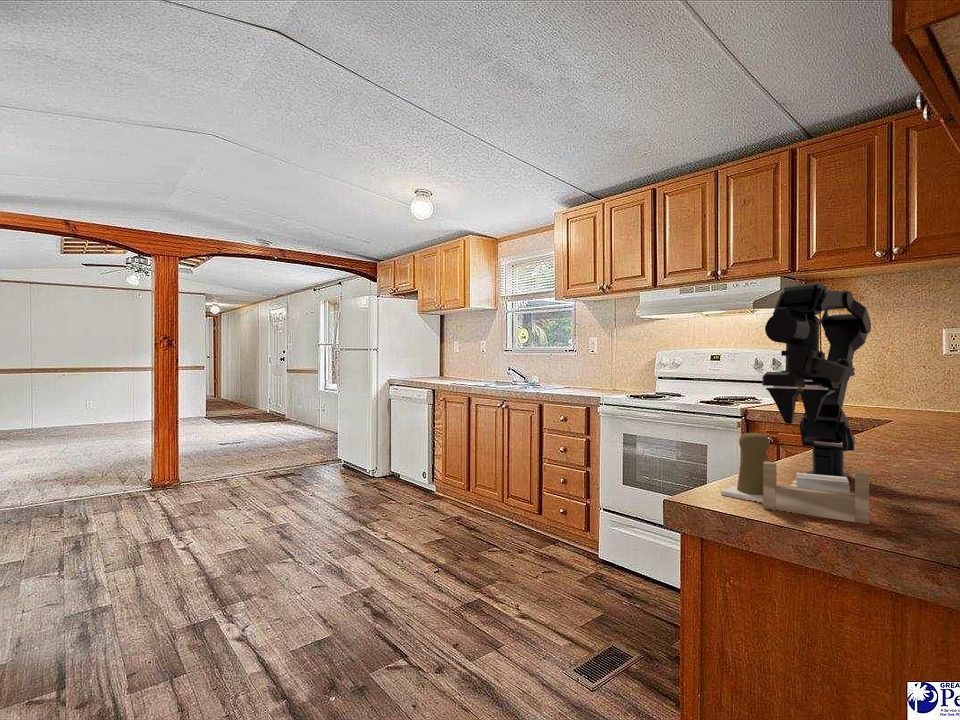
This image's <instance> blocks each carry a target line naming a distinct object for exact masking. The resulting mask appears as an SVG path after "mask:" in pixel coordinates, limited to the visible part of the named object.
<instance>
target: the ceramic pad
mask: <svg viewBox="0 0 960 720" xmlns="http://www.w3.org/2000/svg"><path fill="white" fill-rule="evenodd" d="M737 486H738V484H735V485H732V486H730V487H727V488H723V489H722V490H720V495H721V496H725V497H731V498H736V499H739V498H740V500H744V499H745V501H749V500H751V501H750V502H754V501H757V502H756V503H759V502H762V503H761V504H763V495H753V494H747V493H743V492H740V491H738V490H737Z"/></svg>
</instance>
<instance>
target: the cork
mask: <svg viewBox="0 0 960 720" xmlns="http://www.w3.org/2000/svg"><path fill="white" fill-rule="evenodd" d="M738 444H739V447H740V448H741V450H742V452H741V458H740V463H739V464H740V465H739V473H738V481H737V485H738V486H737V490H738V491H740V492H743V493H747V494H753V495H763V463H764V462H765V461H767V462H769V459H768V454H767V453H768V452H767V451H768V450H770V449H769V448H770V446H771V442H770V439H769V437H768V436H767V435H766V434H763V433H758V432H747V433H745V432H744V433H742V434H741V435H740V437H739V440H738Z"/></svg>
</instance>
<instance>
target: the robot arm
mask: <svg viewBox="0 0 960 720" xmlns="http://www.w3.org/2000/svg"><path fill="white" fill-rule="evenodd" d="M840 309H842V310H843V309H846V311H848V313H844V314H843V313H842V314H832V315H829V313H828V312H829V310H840ZM821 312H823V313H822V316H821V318H818V317H817V315H820V314H821ZM820 326H822V329H823V332H824V336H825V338H826V339H827V341H828V343H829V349H828V353H827V358H826V353H825V352H824V351H821V350H820ZM764 330H765V331H764V332H765V334H766V336H767V338H768V339H770V340H771V341H772V342H774V343H780V344H785V350H781V352H780V353H781V356H782V357H785V370H780V371H766V372H765V373H764V374H763V375H762V383H761V385H762V386H767V387H765V390H766V391H768V393H769V394H770V396H771V398H772V400H773V401H774V403H775V405H776V407H777V408H778V411H779V413H780V415H781V417H782V420H783V421H784V423H785V424H787V425H792V424H793V421H794V416H795V410H796V403H797V402H796V401H797V398H798V396H800V398H801V401H802V405H803V408H804V414H803V416H802V418H801V420H800V423H799V431H800V438H801V443H802V445H801V446H802V447H809V448H810V447H811V448H812V450H811V451H812V457H811V458H812V465H811V466H812V470H810V471H807V472H805V474H817V475H828V476H839V477H847V478H848V477H849V476H851V473H850V472H845V461H844V460H845V458H844V457H845V455H844V453H845V452H849V451H850V452H854V451H855V446H856V443H855V442H856V440H855V436H854V434H853V431H852V429H851V426H850V424H849V419H848V417H847V415H846V413H845V412H844V409H843V406H844V402H845V396H846V393H847V392H846V391H847V388H848V382H850V381H849V380H850V378H851V377H854V376H855V374H856V373H855V367H854V364H853V359H854V355H855V352H857V350H859V349H860V347H862V346H864V344H866V341H867V337H868V334H870V332H871V330H872V321H871V318H870V315H869V312H868V309H867V307H865V306H864V305H863V304H861V303H860V302H859V301H857V300H856V299H854V296H853V294H852V291H850V290H846V289H845V290H835V289H834V290H833V289H832V290H831V289H827V286H826V285H824V284H822V283H820V282H812V283H803V284H796V285H787V286H785V287H784V288H783V291H781V292H780V295H779V297H778V299H777V302H776V305H775V308H774V310H773V312H772V316H770V318H769V319H768V320H767V321H766V324H765V326H764Z"/></svg>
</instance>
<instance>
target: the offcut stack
mask: <svg viewBox="0 0 960 720" xmlns="http://www.w3.org/2000/svg"><path fill="white" fill-rule="evenodd" d="M795 476H796V477H795V479H796V480H793V481H792V482H791V484H790V486H789V487H793V488H802V489H810V490H818V491H826V492H834V493H843V494H850V493H851V492H850V491H851V489H850V488H851V487H850V481H849V479H848V477H839V476H828V475H817V474H806V472H805V473H804V472H796V475H795Z"/></svg>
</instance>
